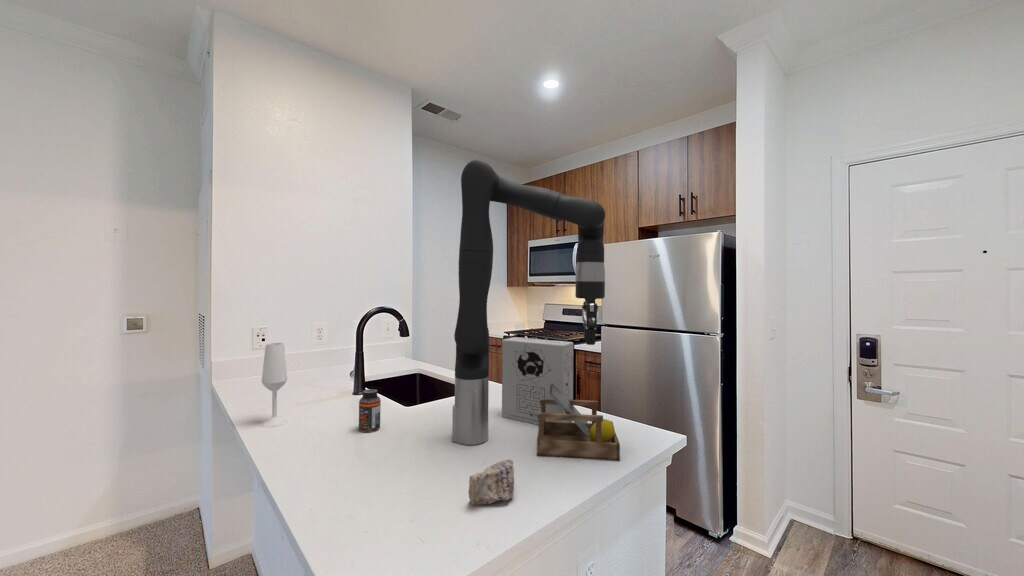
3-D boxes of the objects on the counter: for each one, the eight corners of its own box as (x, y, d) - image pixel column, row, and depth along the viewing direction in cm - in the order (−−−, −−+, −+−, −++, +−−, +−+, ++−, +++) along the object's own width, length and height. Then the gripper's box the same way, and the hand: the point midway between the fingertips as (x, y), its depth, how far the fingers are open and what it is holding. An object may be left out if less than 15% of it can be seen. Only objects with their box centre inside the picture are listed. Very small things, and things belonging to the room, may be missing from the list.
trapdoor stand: (536, 456, 98) (537, 414, 98) (539, 435, 112) (540, 398, 112) (619, 461, 95) (620, 418, 95) (612, 438, 109) (612, 401, 109)
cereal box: (573, 423, 122) (573, 342, 122) (562, 430, 115) (563, 345, 115) (513, 410, 133) (514, 336, 133) (501, 417, 127) (501, 339, 127)
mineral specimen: (493, 518, 72) (493, 484, 72) (462, 506, 75) (463, 474, 75) (528, 488, 82) (528, 458, 82) (499, 479, 86) (500, 450, 86)
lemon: (599, 446, 105) (620, 425, 103) (598, 455, 99) (620, 433, 98) (583, 430, 105) (604, 410, 104) (582, 439, 100) (603, 417, 99)
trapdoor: (546, 397, 99) (551, 392, 99) (547, 386, 110) (552, 382, 109) (584, 439, 98) (590, 435, 98) (582, 425, 108) (587, 421, 108)
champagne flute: (288, 424, 119) (288, 344, 119) (261, 428, 115) (262, 346, 115) (286, 417, 125) (286, 341, 125) (260, 421, 121) (261, 343, 121)
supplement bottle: (354, 431, 114) (354, 392, 114) (368, 424, 119) (369, 387, 119) (370, 434, 111) (370, 394, 111) (384, 427, 117) (384, 389, 117)
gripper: (608, 279, 95) (607, 346, 95) (602, 280, 110) (601, 339, 110) (576, 279, 96) (575, 346, 96) (574, 280, 110) (573, 338, 111)
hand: (589, 342), depth 103 cm, fingers open, 8 cm apart
